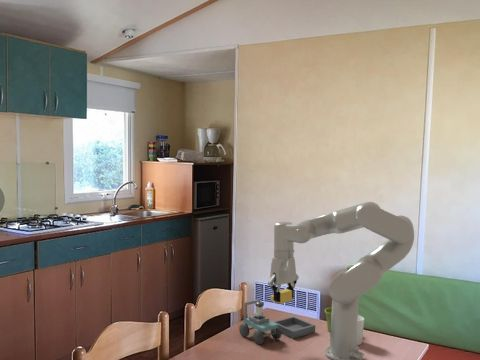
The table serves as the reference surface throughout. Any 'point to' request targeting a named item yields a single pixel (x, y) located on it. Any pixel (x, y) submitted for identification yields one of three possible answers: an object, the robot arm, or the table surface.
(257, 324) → the trolley
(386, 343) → the table surface
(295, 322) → the tray
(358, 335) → the white cup
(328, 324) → the plant pot
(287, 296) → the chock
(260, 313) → the pin
